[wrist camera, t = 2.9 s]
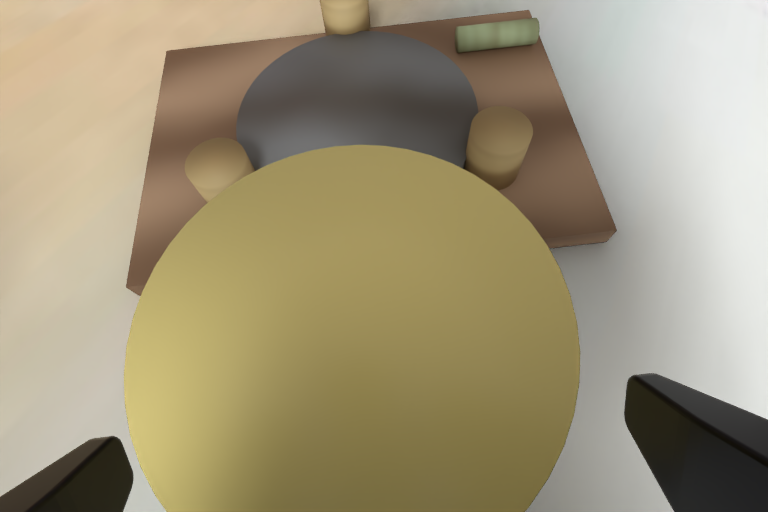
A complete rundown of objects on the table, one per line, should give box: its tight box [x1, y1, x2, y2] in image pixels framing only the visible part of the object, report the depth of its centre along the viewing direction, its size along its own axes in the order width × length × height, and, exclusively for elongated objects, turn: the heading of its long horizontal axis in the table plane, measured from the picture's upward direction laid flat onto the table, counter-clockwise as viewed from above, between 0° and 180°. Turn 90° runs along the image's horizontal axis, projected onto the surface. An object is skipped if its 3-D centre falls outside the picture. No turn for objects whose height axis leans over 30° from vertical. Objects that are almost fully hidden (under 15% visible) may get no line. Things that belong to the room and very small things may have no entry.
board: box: [126, 0, 617, 296], centre depth 20 cm, size 15×20×4 cm
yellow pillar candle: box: [124, 145, 580, 512], centre depth 10 cm, size 7×7×12 cm
